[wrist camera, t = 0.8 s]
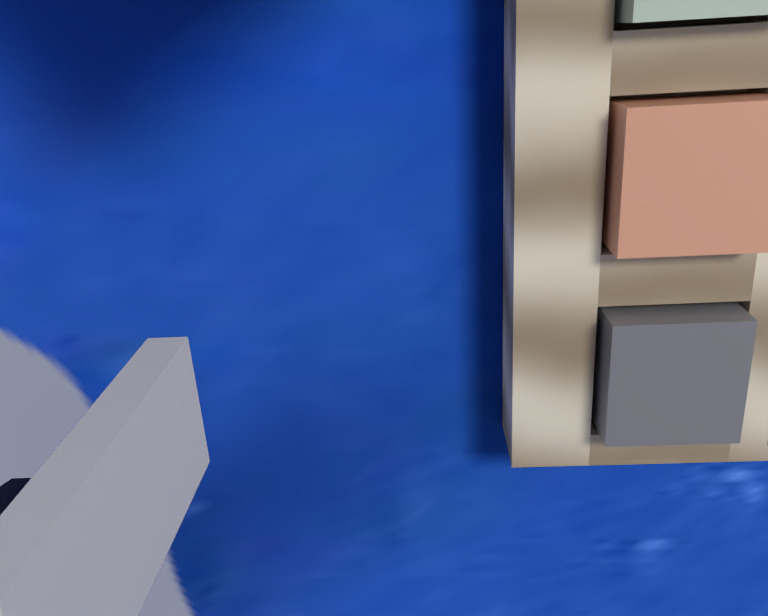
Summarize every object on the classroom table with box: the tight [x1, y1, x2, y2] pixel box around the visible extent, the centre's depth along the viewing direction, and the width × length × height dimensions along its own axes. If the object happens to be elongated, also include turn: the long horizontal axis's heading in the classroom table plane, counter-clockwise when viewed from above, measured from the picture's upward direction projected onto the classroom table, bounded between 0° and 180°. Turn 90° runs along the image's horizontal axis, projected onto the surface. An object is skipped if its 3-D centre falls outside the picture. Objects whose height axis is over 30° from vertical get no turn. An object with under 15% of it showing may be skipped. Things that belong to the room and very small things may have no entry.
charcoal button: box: [591, 302, 758, 447], centre depth 33 cm, size 6×6×3 cm
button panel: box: [502, 0, 768, 467], centre depth 31 cm, size 28×14×4 cm, turn 3°
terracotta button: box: [601, 92, 768, 259], centre depth 30 cm, size 6×6×3 cm
